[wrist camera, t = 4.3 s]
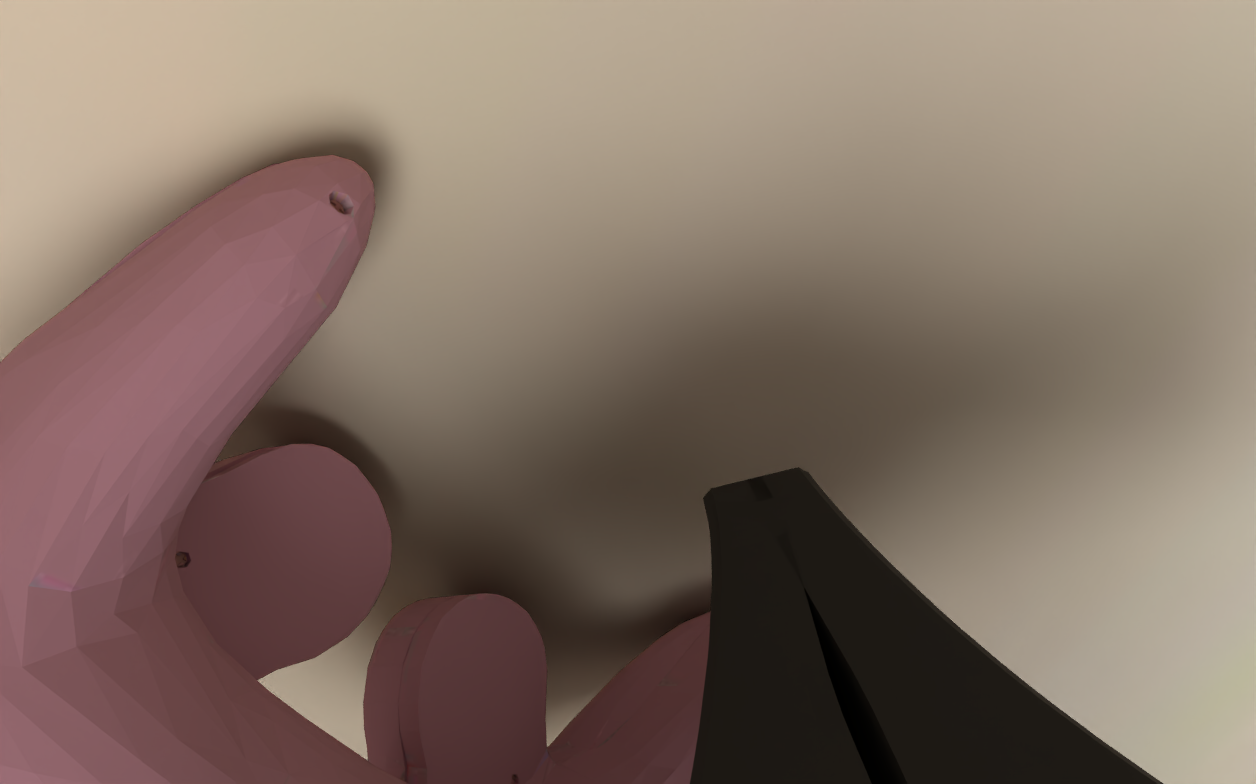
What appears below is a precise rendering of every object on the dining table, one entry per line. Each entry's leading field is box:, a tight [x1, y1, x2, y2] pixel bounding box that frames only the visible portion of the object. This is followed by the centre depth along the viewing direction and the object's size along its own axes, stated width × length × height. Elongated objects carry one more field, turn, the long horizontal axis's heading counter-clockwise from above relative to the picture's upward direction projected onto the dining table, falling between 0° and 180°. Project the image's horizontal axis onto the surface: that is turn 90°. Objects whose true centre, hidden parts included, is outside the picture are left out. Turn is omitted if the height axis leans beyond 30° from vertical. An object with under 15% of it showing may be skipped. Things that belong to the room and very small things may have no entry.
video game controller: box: [0, 155, 711, 784], centre depth 9 cm, size 10×5×7 cm, turn 33°
